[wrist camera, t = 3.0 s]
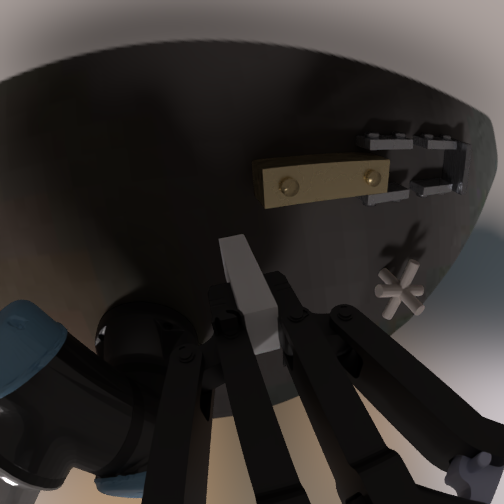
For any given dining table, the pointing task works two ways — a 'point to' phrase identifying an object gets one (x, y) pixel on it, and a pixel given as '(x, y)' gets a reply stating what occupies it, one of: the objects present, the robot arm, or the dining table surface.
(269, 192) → the link
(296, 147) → the dining table surface
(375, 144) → the chain end
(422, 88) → the dining table surface
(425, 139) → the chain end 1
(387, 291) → the pipe connector
